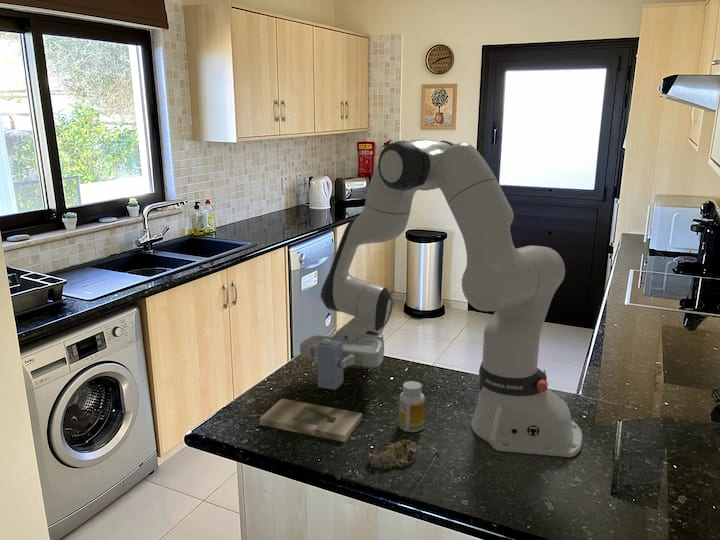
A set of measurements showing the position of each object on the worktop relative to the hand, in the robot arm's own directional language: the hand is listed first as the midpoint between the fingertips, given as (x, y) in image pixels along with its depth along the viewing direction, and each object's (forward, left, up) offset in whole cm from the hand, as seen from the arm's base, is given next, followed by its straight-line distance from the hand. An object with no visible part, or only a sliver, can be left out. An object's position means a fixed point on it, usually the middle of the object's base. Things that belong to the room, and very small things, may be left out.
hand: (328, 363), depth 132 cm
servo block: (0, -1, -6) cm, 6 cm away
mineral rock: (-20, +16, -11) cm, 28 cm away
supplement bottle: (-21, +3, -11) cm, 23 cm away
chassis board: (0, +9, -10) cm, 14 cm away
